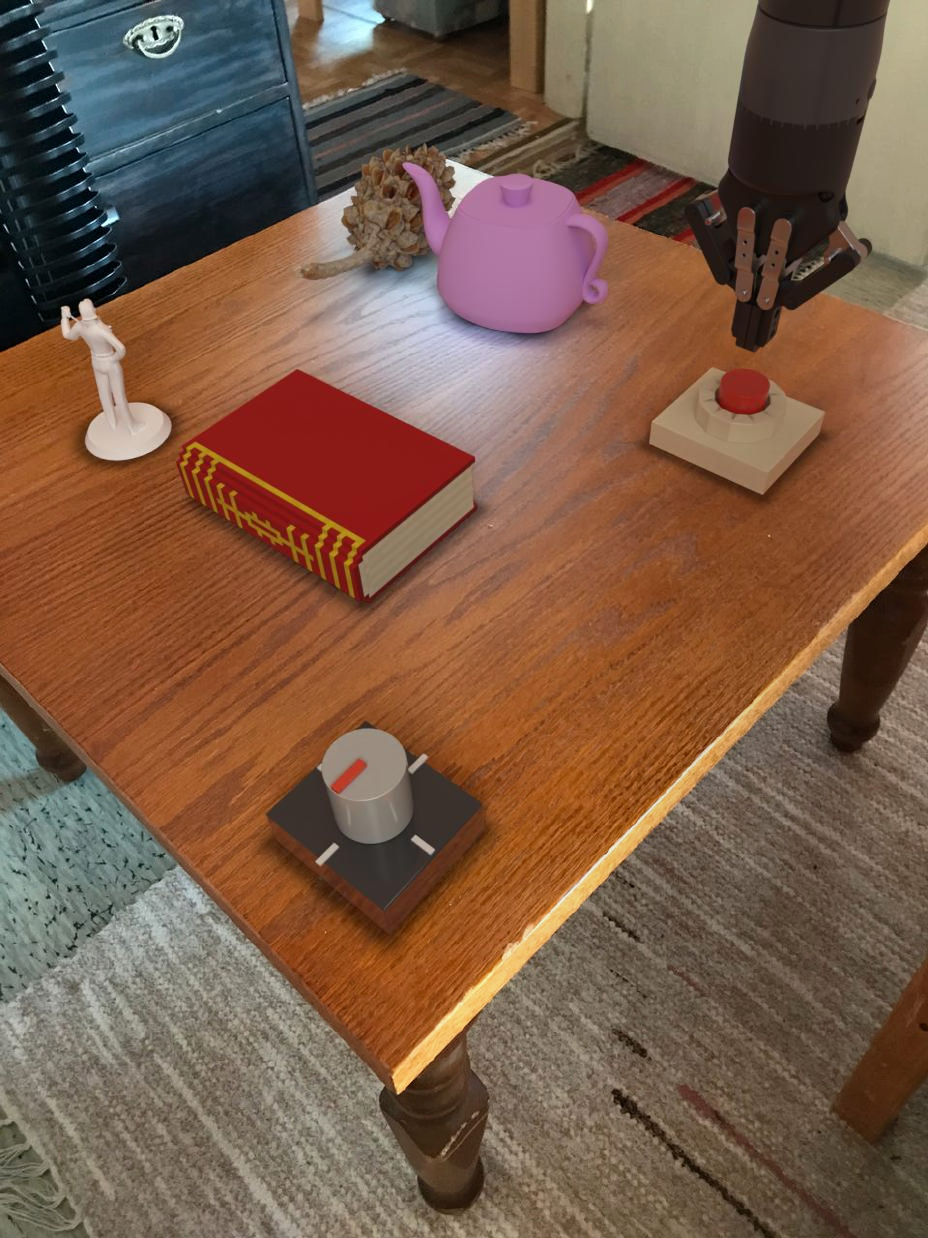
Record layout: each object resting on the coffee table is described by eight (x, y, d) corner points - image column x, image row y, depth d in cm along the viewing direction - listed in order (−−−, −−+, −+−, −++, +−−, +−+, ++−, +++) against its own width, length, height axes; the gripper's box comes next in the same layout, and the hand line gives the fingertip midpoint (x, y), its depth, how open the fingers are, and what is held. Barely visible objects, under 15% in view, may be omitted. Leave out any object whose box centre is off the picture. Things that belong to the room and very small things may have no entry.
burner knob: (371, 760, 56) (361, 710, 52) (430, 801, 54) (423, 753, 50) (317, 814, 54) (302, 766, 50) (376, 859, 52) (365, 813, 48)
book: (189, 502, 76) (172, 451, 72) (307, 419, 82) (297, 368, 78) (361, 610, 67) (351, 559, 64) (477, 508, 74) (475, 456, 70)
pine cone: (397, 213, 104) (388, 116, 97) (478, 231, 101) (474, 131, 94) (278, 319, 92) (256, 216, 84) (365, 343, 89) (350, 238, 81)
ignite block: (819, 434, 78) (831, 392, 75) (762, 495, 73) (772, 453, 70) (708, 388, 82) (715, 347, 79) (648, 443, 78) (653, 402, 75)
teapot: (631, 288, 93) (643, 162, 84) (577, 364, 85) (584, 235, 76) (443, 247, 99) (436, 127, 90) (378, 315, 92) (362, 190, 83)
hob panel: (488, 826, 56) (487, 798, 54) (386, 940, 52) (379, 914, 50) (374, 744, 60) (368, 714, 58) (271, 843, 56) (260, 816, 54)
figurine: (188, 417, 83) (147, 287, 74) (136, 468, 78) (86, 338, 69) (120, 398, 85) (72, 270, 76) (66, 447, 81) (8, 318, 72)
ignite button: (774, 398, 75) (779, 379, 74) (750, 422, 73) (755, 402, 72) (732, 381, 77) (736, 362, 75) (708, 404, 75) (711, 385, 74)
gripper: (673, 87, 59) (645, 337, 72) (882, 142, 53) (810, 403, 66) (736, 47, 63) (698, 292, 76) (939, 95, 57) (860, 352, 70)
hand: (751, 344), depth 71 cm, fingers closed
